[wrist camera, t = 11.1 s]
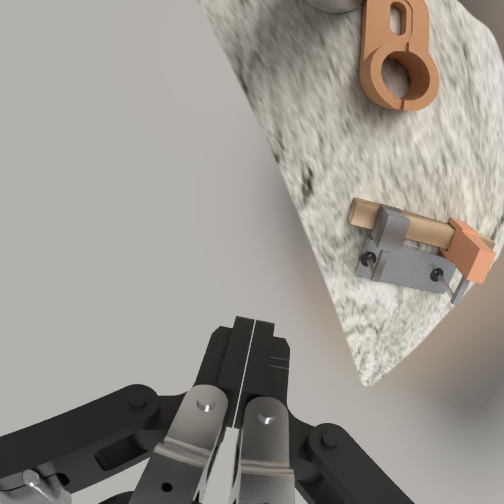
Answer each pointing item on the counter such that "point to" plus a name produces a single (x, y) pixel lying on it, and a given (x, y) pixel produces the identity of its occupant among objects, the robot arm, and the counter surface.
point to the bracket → (397, 53)
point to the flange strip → (408, 267)
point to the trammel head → (466, 258)
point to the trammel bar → (399, 230)
